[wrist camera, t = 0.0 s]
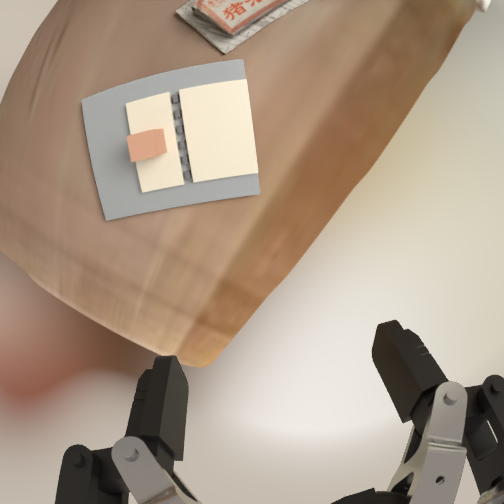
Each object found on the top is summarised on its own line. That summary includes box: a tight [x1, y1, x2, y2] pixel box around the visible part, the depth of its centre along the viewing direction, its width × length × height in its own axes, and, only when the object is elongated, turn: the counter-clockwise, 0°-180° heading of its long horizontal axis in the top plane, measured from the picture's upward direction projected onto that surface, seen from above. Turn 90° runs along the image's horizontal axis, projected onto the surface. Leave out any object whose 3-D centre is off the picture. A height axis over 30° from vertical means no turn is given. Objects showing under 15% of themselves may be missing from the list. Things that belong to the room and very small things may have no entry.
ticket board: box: [81, 59, 260, 221], centre depth 32 cm, size 18×22×2 cm
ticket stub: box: [126, 92, 185, 193], centre depth 28 cm, size 12×6×6 cm, turn 7°
